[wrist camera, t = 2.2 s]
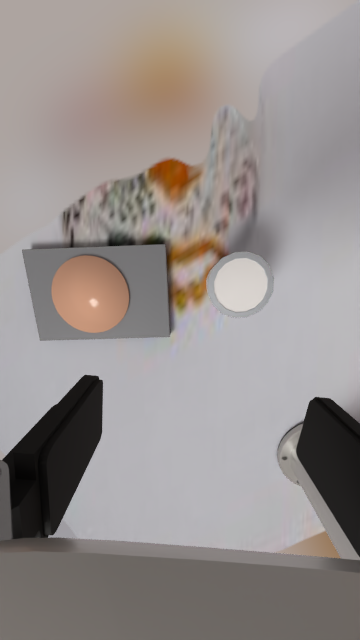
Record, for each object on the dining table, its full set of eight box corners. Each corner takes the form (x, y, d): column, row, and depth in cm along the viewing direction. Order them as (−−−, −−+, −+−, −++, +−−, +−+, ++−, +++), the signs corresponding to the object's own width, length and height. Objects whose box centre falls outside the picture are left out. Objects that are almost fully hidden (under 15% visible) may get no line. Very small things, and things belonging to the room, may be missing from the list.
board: (166, 245, 27) (165, 244, 26) (170, 333, 30) (169, 336, 28) (30, 250, 27) (21, 249, 26) (46, 337, 30) (40, 340, 29)
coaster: (125, 254, 26) (124, 253, 25) (132, 330, 28) (131, 331, 28) (46, 257, 26) (44, 256, 26) (60, 333, 28) (58, 333, 28)
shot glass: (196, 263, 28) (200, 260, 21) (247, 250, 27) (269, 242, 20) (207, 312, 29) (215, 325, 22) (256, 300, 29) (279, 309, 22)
